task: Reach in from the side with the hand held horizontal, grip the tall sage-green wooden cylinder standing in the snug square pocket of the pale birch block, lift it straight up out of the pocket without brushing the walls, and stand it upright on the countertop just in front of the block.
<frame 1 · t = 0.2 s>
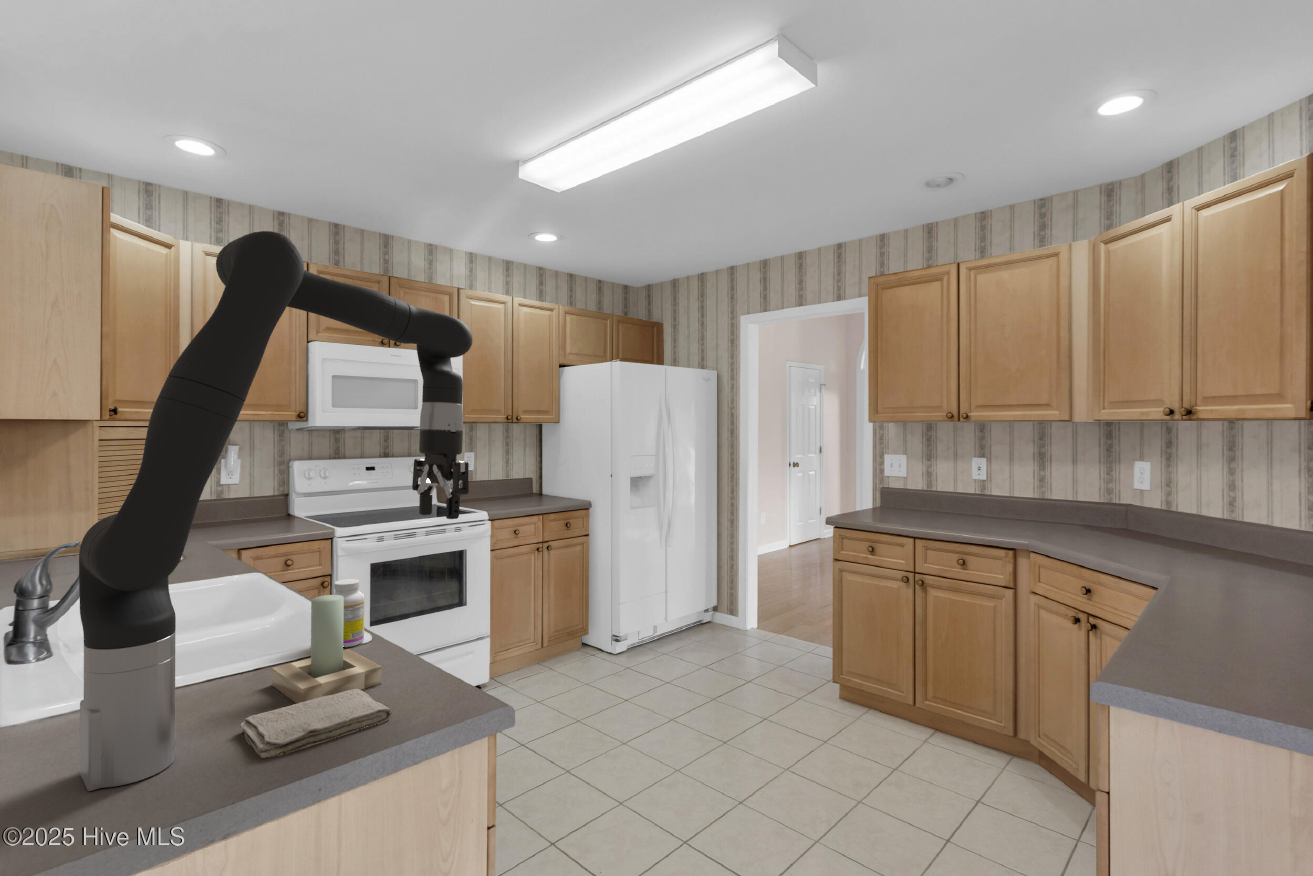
hand: (438, 516, 117), 29 cm above the countertop, tool pointing down, fingers open, 8 cm apart
green cylinder: (327, 641, 111), in the pocket block
supplement bottle: (346, 644, 132), on the countertop
pocket block: (326, 684, 111), on the countertop
washcloth: (316, 730, 96), on the countertop
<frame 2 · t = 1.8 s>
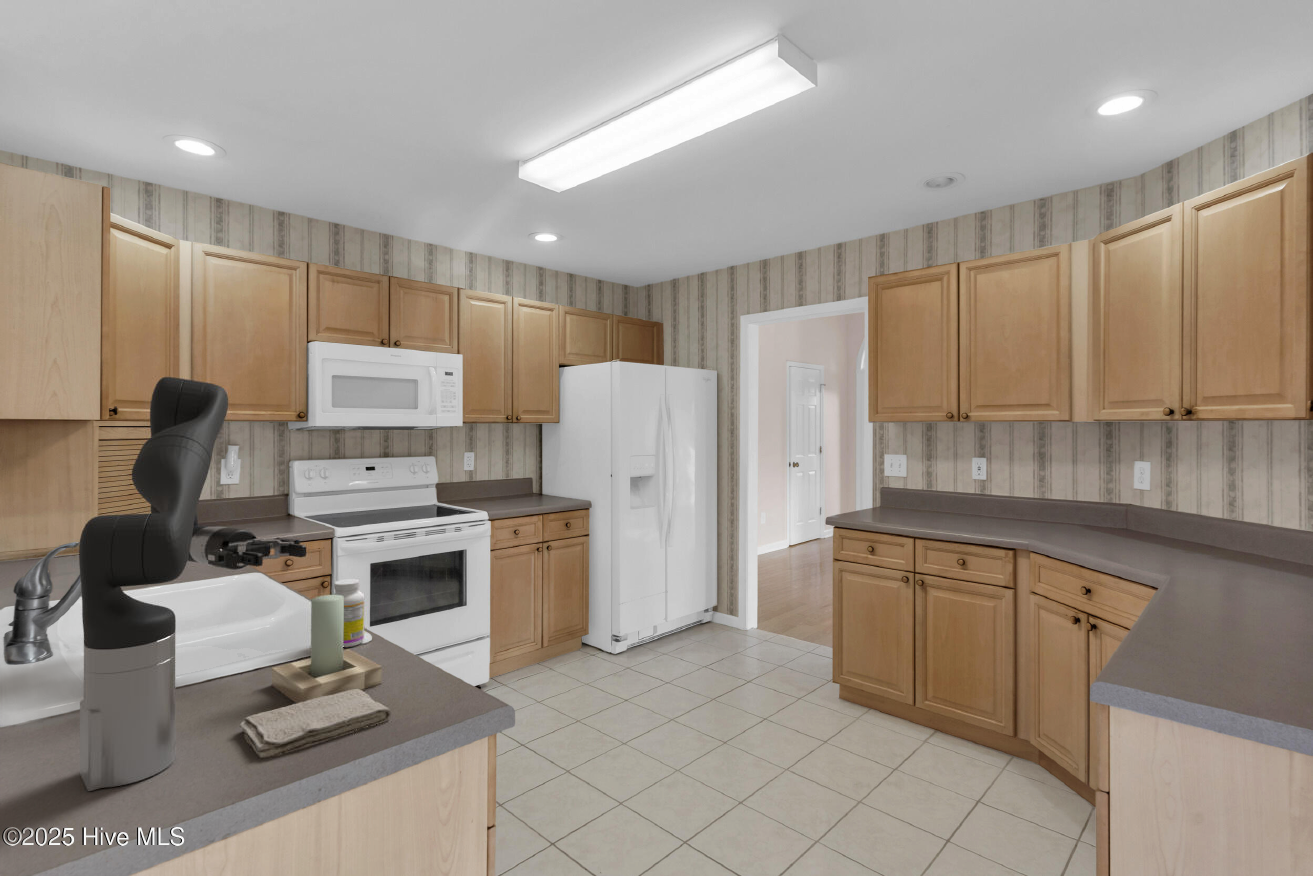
hand: (283, 555, 115), 21 cm above the countertop, tool horizontal, fingers open, 8 cm apart
nothing on the countertop moved.
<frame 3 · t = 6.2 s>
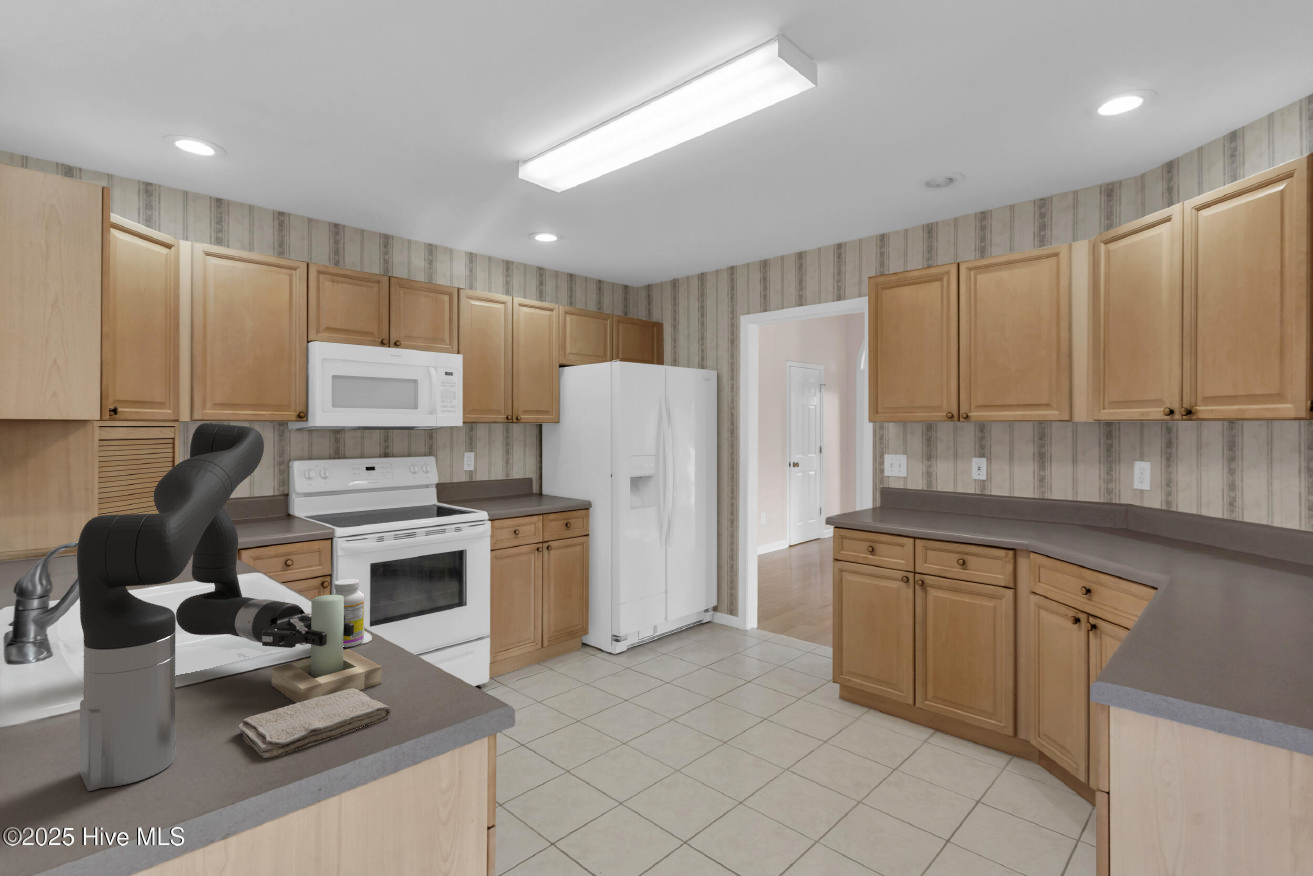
hand: (338, 634, 110), 9 cm above the countertop, tool horizontal, fingers closed on green cylinder, 5 cm apart
green cylinder: (327, 641, 111), in the pocket block, touching gripper
everything else where it was.
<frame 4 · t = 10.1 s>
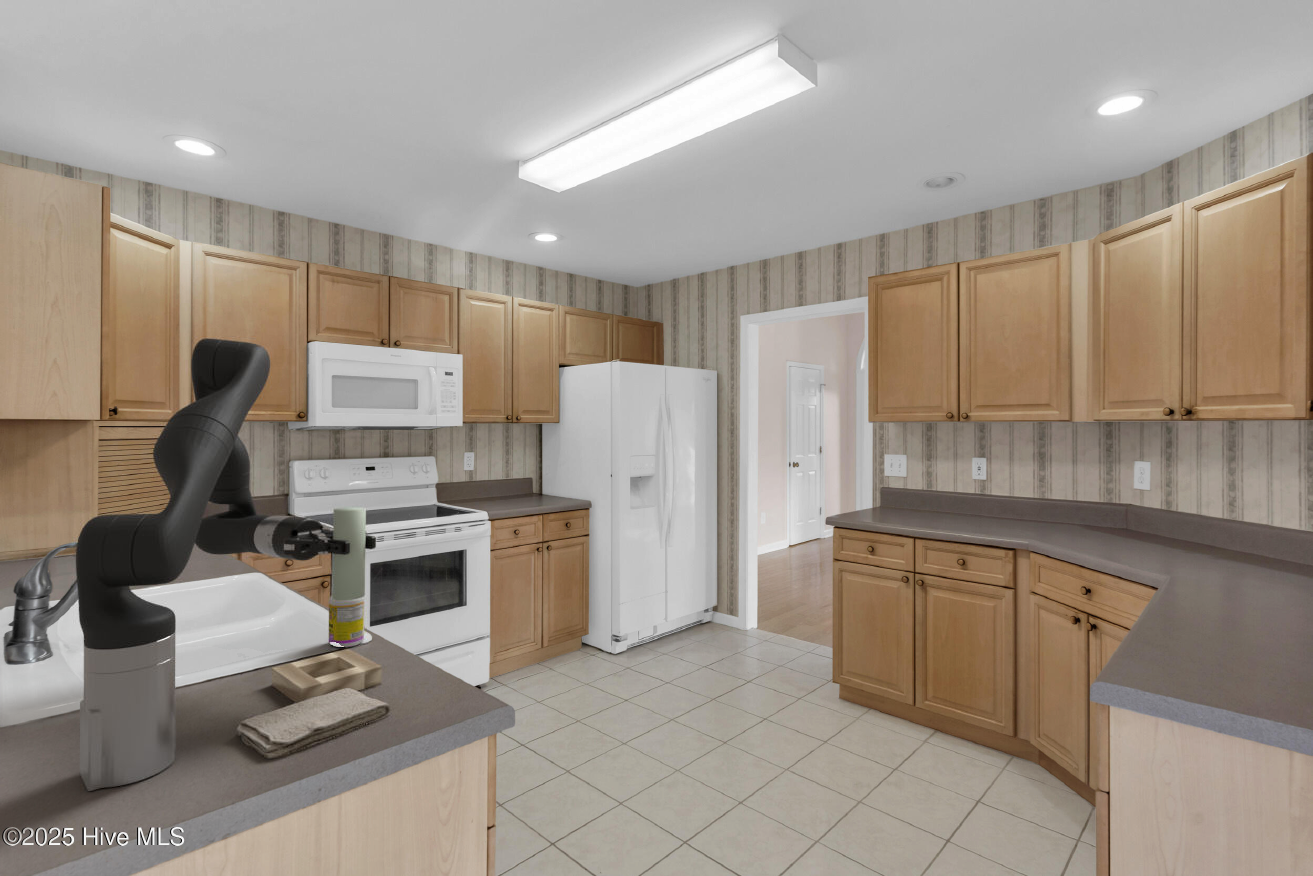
hand: (361, 545, 109), 25 cm above the countertop, tool horizontal, fingers closed on green cylinder, 5 cm apart
green cylinder: (349, 552, 110), point 23 cm above the countertop, touching gripper
everything else where it was.
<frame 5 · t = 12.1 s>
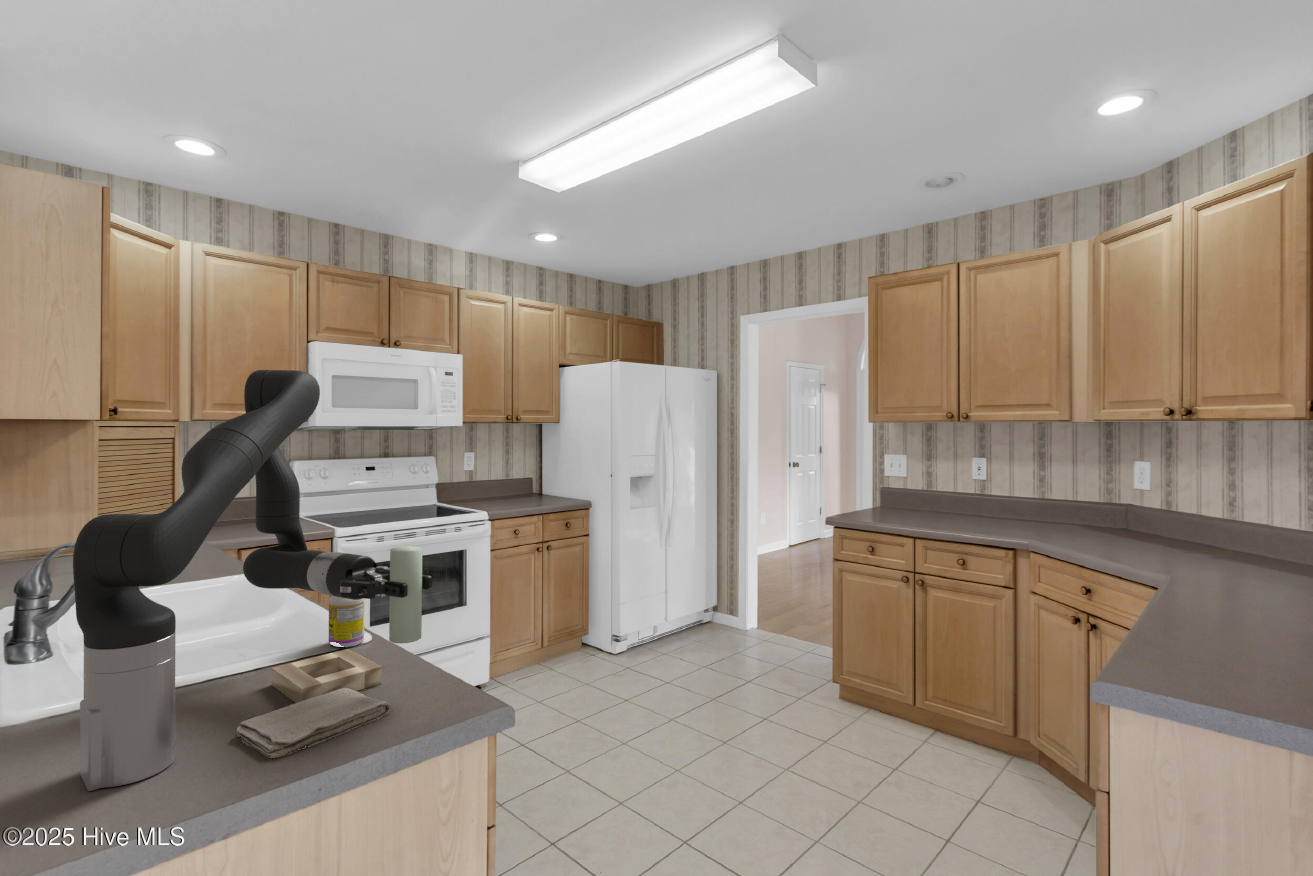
hand: (418, 586, 106), 19 cm above the countertop, tool horizontal, fingers closed on green cylinder, 5 cm apart
green cylinder: (405, 593, 107), point 17 cm above the countertop, touching gripper
everything else where it was.
when the fingers open (10 cm above the countertop, at t = 14.0 s): green cylinder drops 1 cm, on the countertop.
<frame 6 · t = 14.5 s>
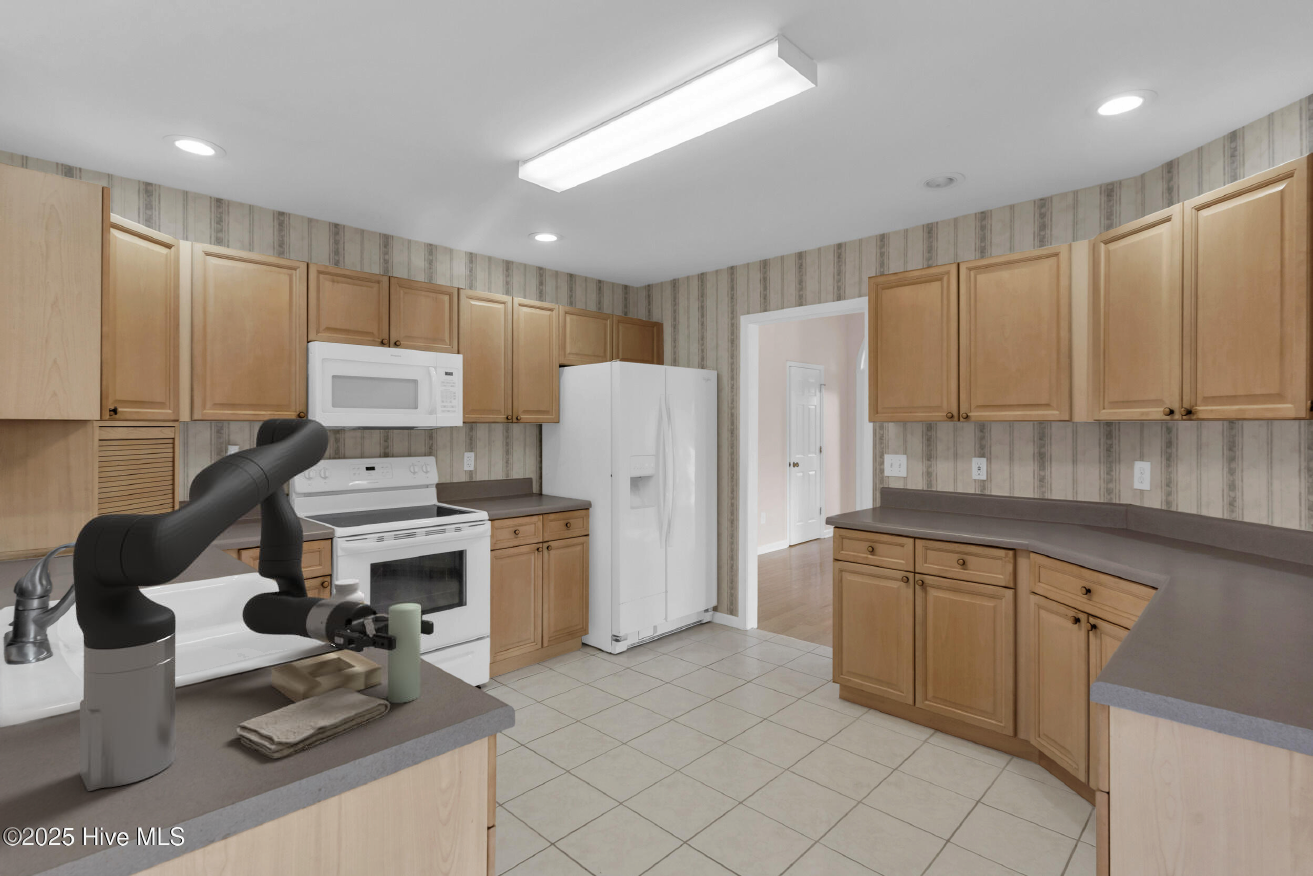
hand: (414, 635, 106), 11 cm above the countertop, tool horizontal, fingers open, 8 cm apart
green cylinder: (404, 652, 107), on the countertop
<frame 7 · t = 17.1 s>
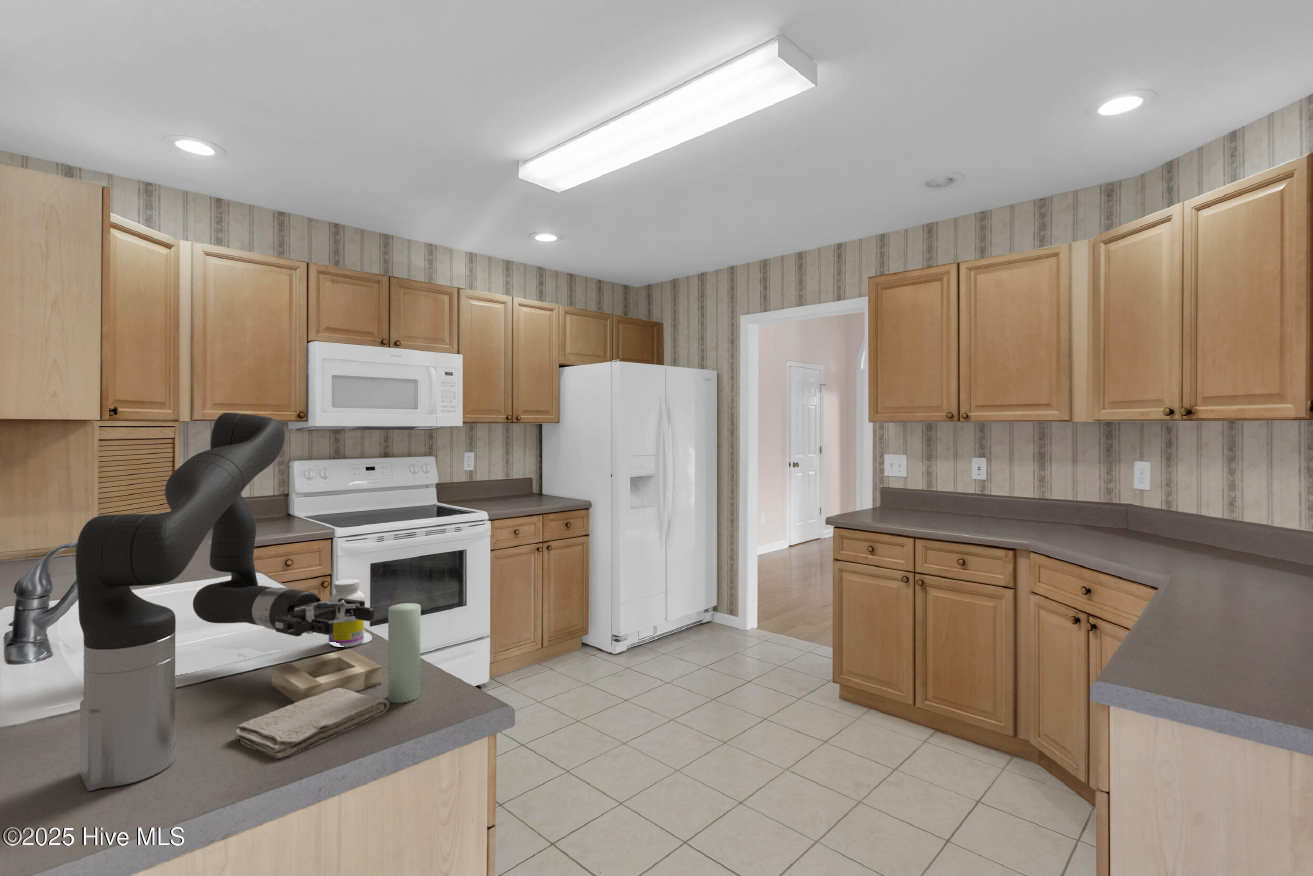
hand: (352, 621, 111), 11 cm above the countertop, tool horizontal, fingers open, 8 cm apart
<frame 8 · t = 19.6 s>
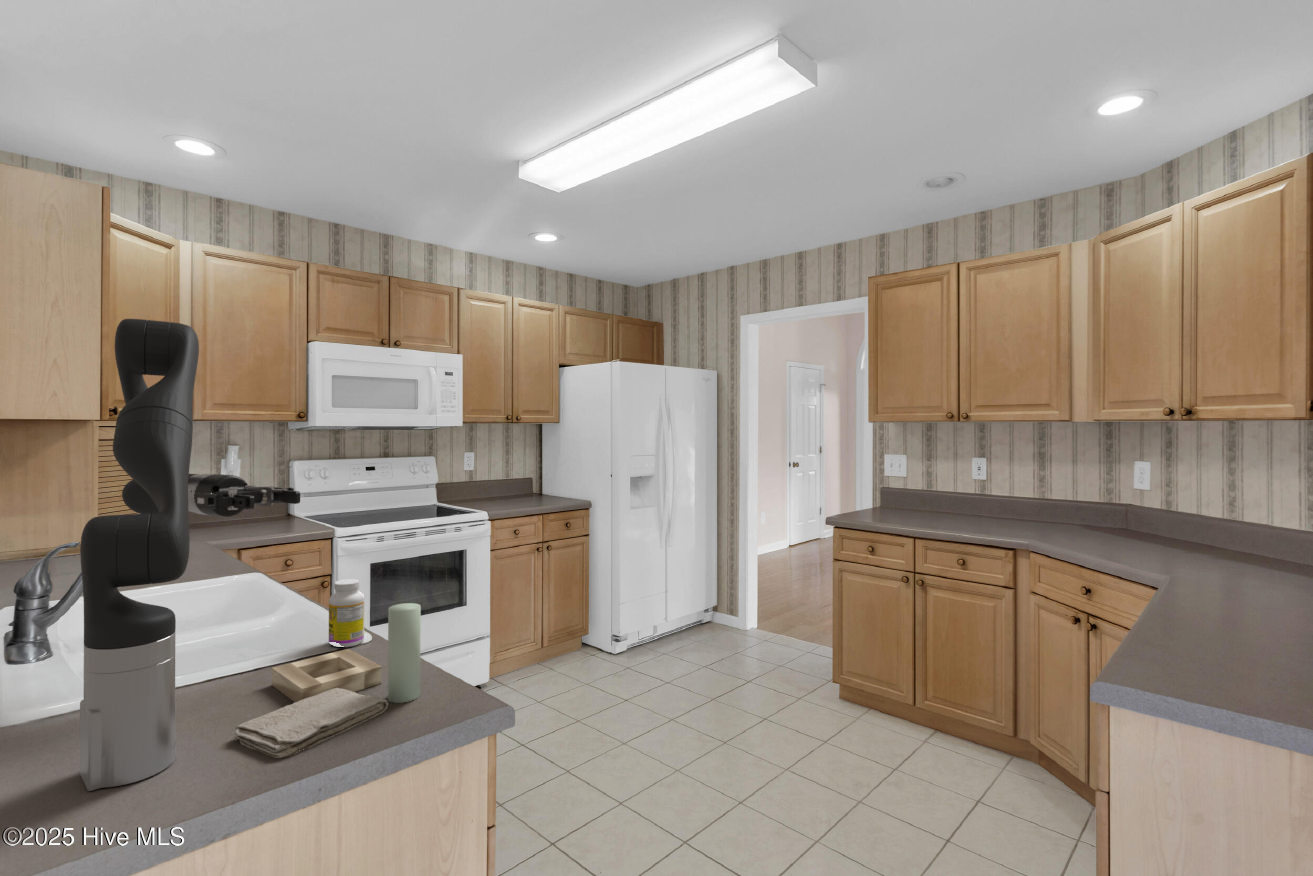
hand: (276, 500, 110), 32 cm above the countertop, tool horizontal, fingers open, 8 cm apart
at the end: green cylinder inside the target area (0.1 cm from its centre), on the countertop; green cylinder tilted 0°; green cylinder touching countertop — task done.
